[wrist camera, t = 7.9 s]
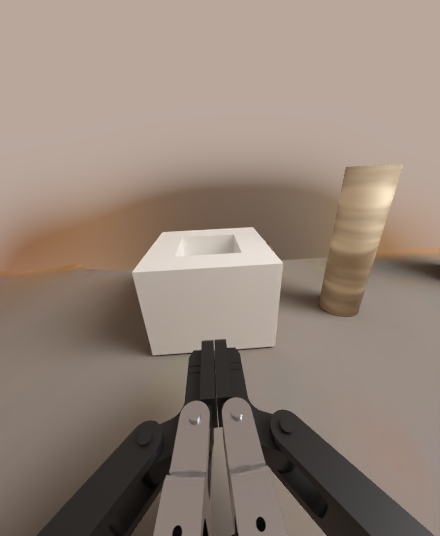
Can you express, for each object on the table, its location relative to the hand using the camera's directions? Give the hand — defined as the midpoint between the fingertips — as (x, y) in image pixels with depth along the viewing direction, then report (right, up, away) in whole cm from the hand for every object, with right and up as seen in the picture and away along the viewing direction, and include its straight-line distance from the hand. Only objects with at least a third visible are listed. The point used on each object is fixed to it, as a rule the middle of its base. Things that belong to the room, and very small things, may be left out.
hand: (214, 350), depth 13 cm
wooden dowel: (+15, 0, +13) cm, 20 cm away
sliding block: (-1, -1, +13) cm, 13 cm away
